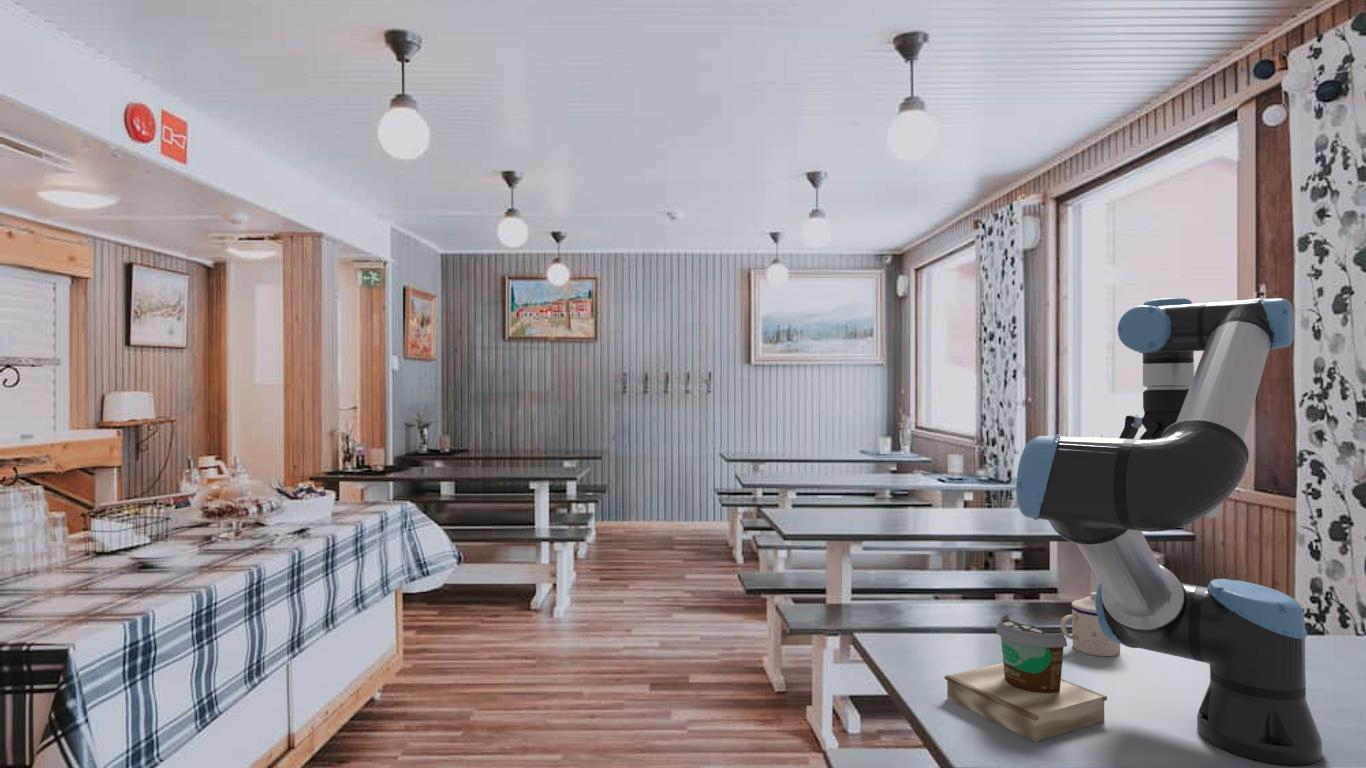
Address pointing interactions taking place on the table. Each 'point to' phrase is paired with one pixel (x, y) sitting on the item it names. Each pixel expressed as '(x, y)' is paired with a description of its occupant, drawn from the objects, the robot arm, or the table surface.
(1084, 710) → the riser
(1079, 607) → the teacup with lid
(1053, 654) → the food container
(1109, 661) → the table surface
